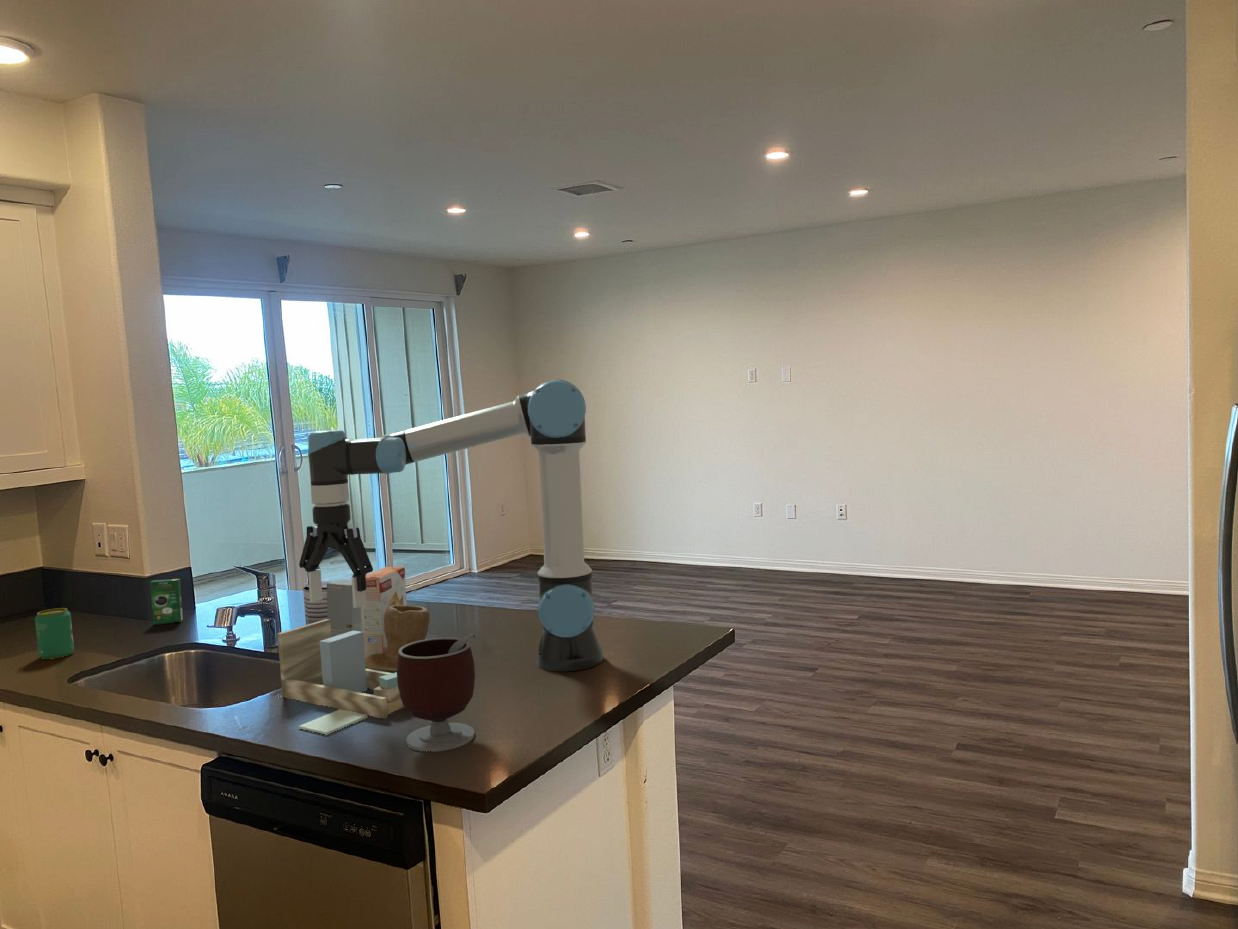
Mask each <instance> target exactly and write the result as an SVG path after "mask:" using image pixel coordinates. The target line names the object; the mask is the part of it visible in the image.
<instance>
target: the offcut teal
mask: <svg viewBox="0 0 1238 929" xmlns="http://www.w3.org/2000/svg"><path fill="white" fill-rule="evenodd" d="M391 673H392V674H388V675H385V676H381V677H379V683H380V687H382V688H384V689H387V690H388V689H391V688H395V687H398V683H397V672H391Z"/></svg>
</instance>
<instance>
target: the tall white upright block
mask: <svg viewBox="0 0 1238 929" xmlns="http://www.w3.org/2000/svg"><path fill="white" fill-rule="evenodd" d="M320 654H321V666H322V679H323V685H324V686H329V687H335V688H340V689H345V690H350V691H355V692H360V693H362V692H363V693H365V692H367V691H368V688H367V682H366V668H365V655H364V642H363V632H360V631H350V632H347V633H344V634H341V635H338V636H334V637H331V638H328V639H325V640H322V641H320ZM364 691H365V692H364Z"/></svg>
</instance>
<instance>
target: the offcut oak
mask: <svg viewBox="0 0 1238 929" xmlns="http://www.w3.org/2000/svg"><path fill="white" fill-rule="evenodd" d="M403 707H404V706H403V703H402V700H401V698H400V699H398V700H396V701H394V702H392V703H387V714H389V715H391V714H392V713H391V712H393V711H396V712H397V710H398V711H400V710H402V709H404V708H405V707H404V708H403ZM401 708H402V709H401ZM399 709H400V710H399ZM390 713H391V714H390ZM393 713H394V712H393Z"/></svg>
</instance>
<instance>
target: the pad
mask: <svg viewBox="0 0 1238 929" xmlns="http://www.w3.org/2000/svg"><path fill="white" fill-rule="evenodd" d="M368 717H369V716H367V715H365V714H360V713H355V712H351V711H346V710H341V709H336V710H335V711H333V712H330V713H328V714H325V715H322V716H320V717H318V718H314V719H311V720H310V721H308V722H305V723H303V724H300V725H298V729H299V730H301V729H303V730H302V731H305V730H310V731H315V732H318V733H322V734H325V735H324V736H326V735H327V734H329V735H331V734H330V733H332V732H334V731H336V732H338V731H337V730H339V731H341V730H343V729H345V728H344V727H346V728H348V727H350V726H351V725H350V724H353V725H355V724H358V723H359V721H360V722H362V721H364V720H366V719H365V718H367V719H368ZM363 719H364V720H363ZM361 720H362V721H361ZM349 725H350V726H349ZM347 726H348V727H347ZM342 728H343V729H342ZM340 729H341V730H340ZM310 731H309V732H310ZM318 733H317V734H318ZM334 733H335V732H334ZM322 734H321V735H322ZM332 734H333V733H332ZM327 736H328V735H327Z"/></svg>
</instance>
